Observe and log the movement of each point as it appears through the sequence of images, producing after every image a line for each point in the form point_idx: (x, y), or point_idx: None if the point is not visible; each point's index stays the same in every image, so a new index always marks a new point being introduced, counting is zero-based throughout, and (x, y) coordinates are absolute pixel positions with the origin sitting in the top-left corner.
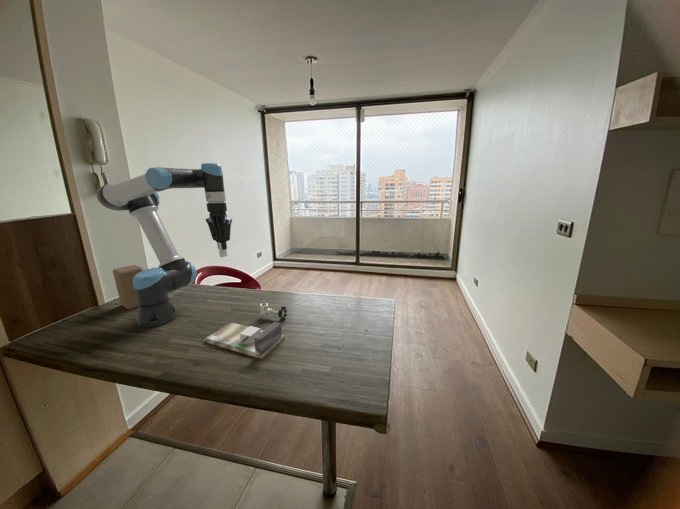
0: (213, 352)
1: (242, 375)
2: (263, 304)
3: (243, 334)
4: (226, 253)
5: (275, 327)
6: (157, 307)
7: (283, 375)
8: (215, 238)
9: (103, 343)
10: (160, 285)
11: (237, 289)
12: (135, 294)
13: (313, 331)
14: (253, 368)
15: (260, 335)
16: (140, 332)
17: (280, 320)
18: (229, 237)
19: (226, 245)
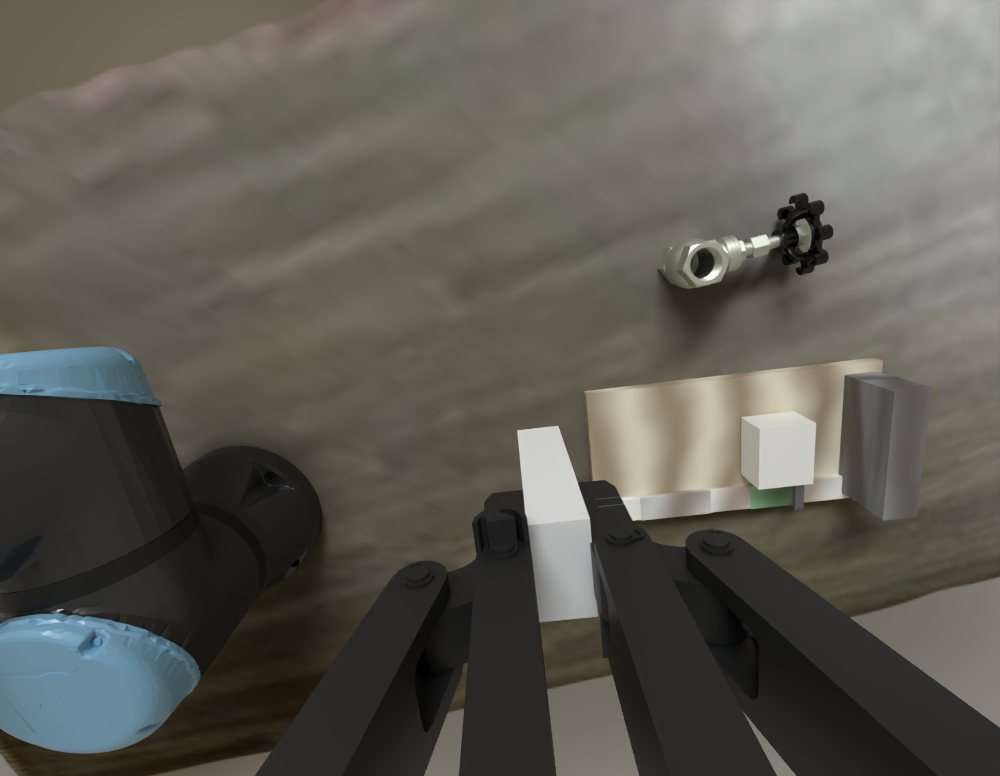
0: (677, 539)
1: (852, 564)
2: (692, 255)
3: (778, 486)
4: (561, 442)
5: (926, 426)
6: (270, 572)
7: (975, 510)
8: (454, 658)
9: (288, 672)
10: (203, 619)
11: (224, 58)
12: None
13: (973, 253)
14: (864, 530)
15: (899, 498)
16: (312, 590)
17: (786, 263)
18: (775, 576)
19: (624, 508)
